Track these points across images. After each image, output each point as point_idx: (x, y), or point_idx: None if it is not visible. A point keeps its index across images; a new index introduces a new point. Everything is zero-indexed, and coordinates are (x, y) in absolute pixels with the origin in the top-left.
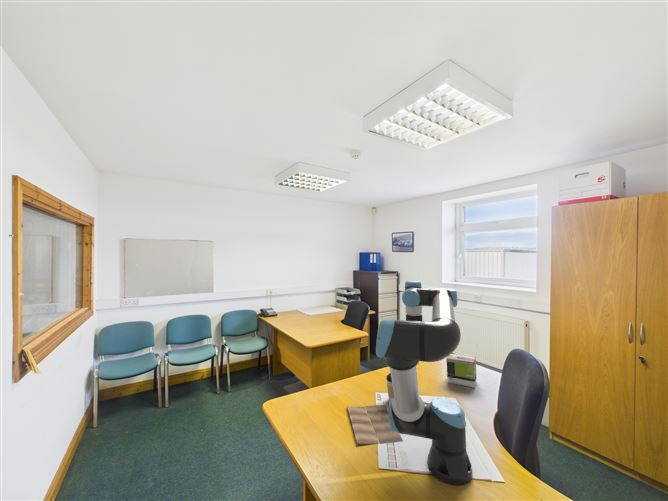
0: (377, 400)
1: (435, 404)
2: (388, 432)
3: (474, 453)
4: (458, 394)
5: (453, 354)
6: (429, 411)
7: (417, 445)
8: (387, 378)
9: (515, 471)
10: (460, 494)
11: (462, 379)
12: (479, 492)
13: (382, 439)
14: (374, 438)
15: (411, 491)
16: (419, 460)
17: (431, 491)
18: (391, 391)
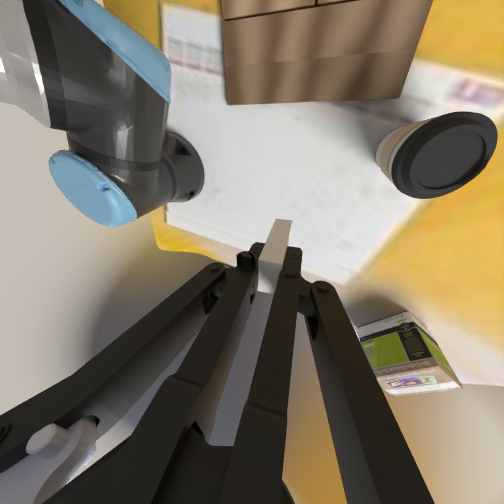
0: (457, 79)
1: (66, 166)
2: (260, 68)
3: (206, 221)
4: (352, 296)
5: (445, 388)
6: (68, 141)
7: (224, 138)
8: (457, 113)
9: (181, 243)
10: None
11: (380, 331)
12: None
13: (236, 37)
14: (241, 4)
15: None
16: (188, 124)
17: None
18: (405, 129)
